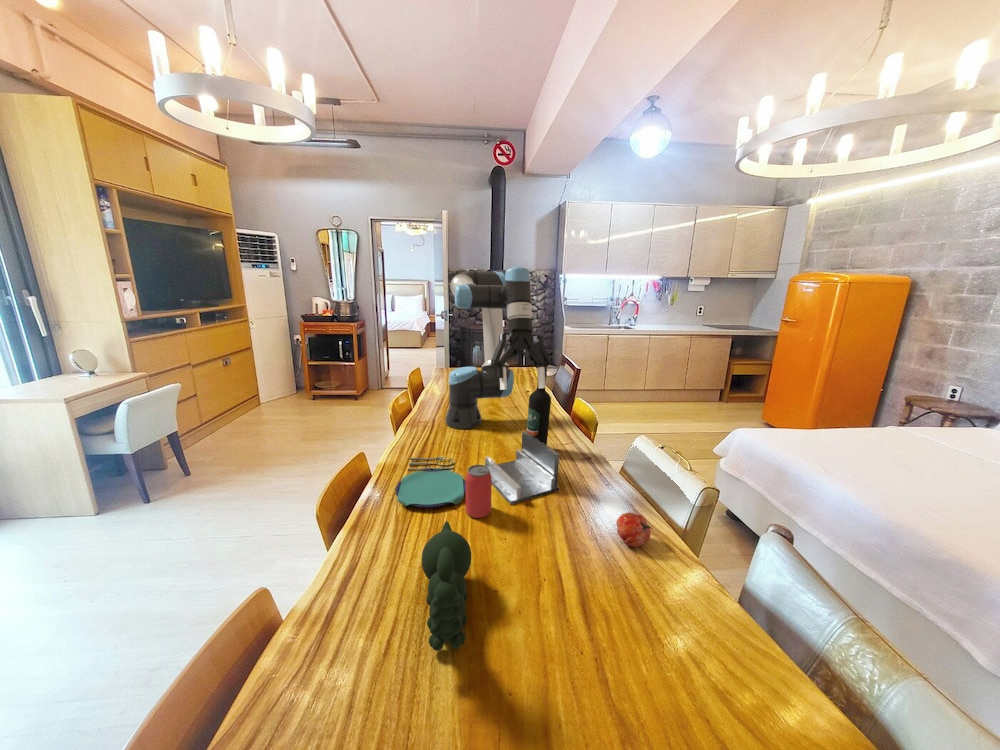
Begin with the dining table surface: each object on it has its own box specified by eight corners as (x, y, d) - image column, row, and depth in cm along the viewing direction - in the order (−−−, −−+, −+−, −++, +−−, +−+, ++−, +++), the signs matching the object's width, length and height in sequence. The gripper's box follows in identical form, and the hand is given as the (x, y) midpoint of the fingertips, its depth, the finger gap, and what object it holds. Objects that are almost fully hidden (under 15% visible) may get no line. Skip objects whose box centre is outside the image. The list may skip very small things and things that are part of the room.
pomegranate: (609, 550, 86) (639, 549, 78) (601, 516, 89) (630, 512, 81) (634, 544, 89) (665, 543, 81) (625, 512, 92) (654, 508, 84)
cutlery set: (390, 515, 94) (389, 506, 94) (404, 461, 123) (404, 455, 123) (468, 511, 97) (468, 503, 96) (464, 459, 126) (464, 453, 125)
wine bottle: (547, 455, 128) (555, 370, 122) (525, 453, 128) (532, 368, 122) (545, 446, 135) (552, 365, 129) (524, 445, 135) (531, 364, 129)
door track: (479, 471, 116) (479, 438, 114) (523, 461, 123) (524, 430, 121) (510, 504, 99) (511, 467, 96) (559, 490, 106) (561, 455, 104)
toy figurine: (478, 674, 58) (468, 550, 81) (479, 582, 52) (469, 477, 75) (416, 682, 56) (425, 554, 80) (410, 588, 50) (421, 479, 74)
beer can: (487, 521, 92) (488, 477, 89) (462, 517, 93) (462, 474, 90) (493, 506, 98) (494, 465, 95) (469, 502, 100) (469, 462, 97)
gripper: (488, 313, 103) (492, 389, 102) (560, 319, 115) (564, 387, 114) (477, 319, 110) (480, 390, 108) (546, 323, 122) (549, 388, 120)
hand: (523, 389), depth 111 cm, fingers open, 13 cm apart
